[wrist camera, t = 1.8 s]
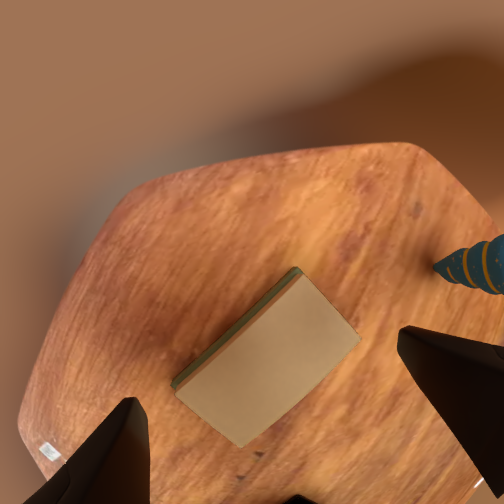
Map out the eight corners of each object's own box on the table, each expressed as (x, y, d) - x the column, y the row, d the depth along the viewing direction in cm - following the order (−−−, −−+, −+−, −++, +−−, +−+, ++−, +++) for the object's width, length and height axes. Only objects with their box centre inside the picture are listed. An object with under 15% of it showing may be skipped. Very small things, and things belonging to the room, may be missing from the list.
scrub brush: (352, 331, 24) (368, 338, 21) (238, 436, 22) (240, 454, 19) (293, 266, 24) (304, 265, 21) (172, 380, 22) (166, 394, 19)
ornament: (438, 234, 26) (555, 211, 11) (456, 273, 26) (568, 270, 11) (410, 262, 25) (540, 253, 10) (430, 304, 25) (552, 317, 10)
